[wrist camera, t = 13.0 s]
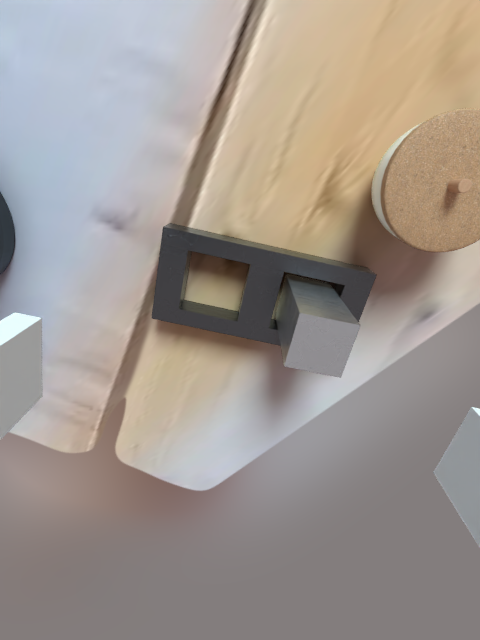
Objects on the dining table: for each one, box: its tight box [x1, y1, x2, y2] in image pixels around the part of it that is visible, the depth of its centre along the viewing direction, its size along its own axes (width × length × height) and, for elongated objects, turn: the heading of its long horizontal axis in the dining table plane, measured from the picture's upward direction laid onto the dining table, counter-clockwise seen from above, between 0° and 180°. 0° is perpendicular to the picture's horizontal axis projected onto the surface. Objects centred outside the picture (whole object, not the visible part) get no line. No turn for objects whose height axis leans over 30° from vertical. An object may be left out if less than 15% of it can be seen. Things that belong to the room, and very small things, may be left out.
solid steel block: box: [275, 274, 360, 378], centre depth 34 cm, size 5×5×12 cm
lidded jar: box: [371, 108, 480, 252], centre depth 30 cm, size 11×11×9 cm
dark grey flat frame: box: [152, 223, 376, 345], centre depth 38 cm, size 22×10×3 cm, turn 78°
